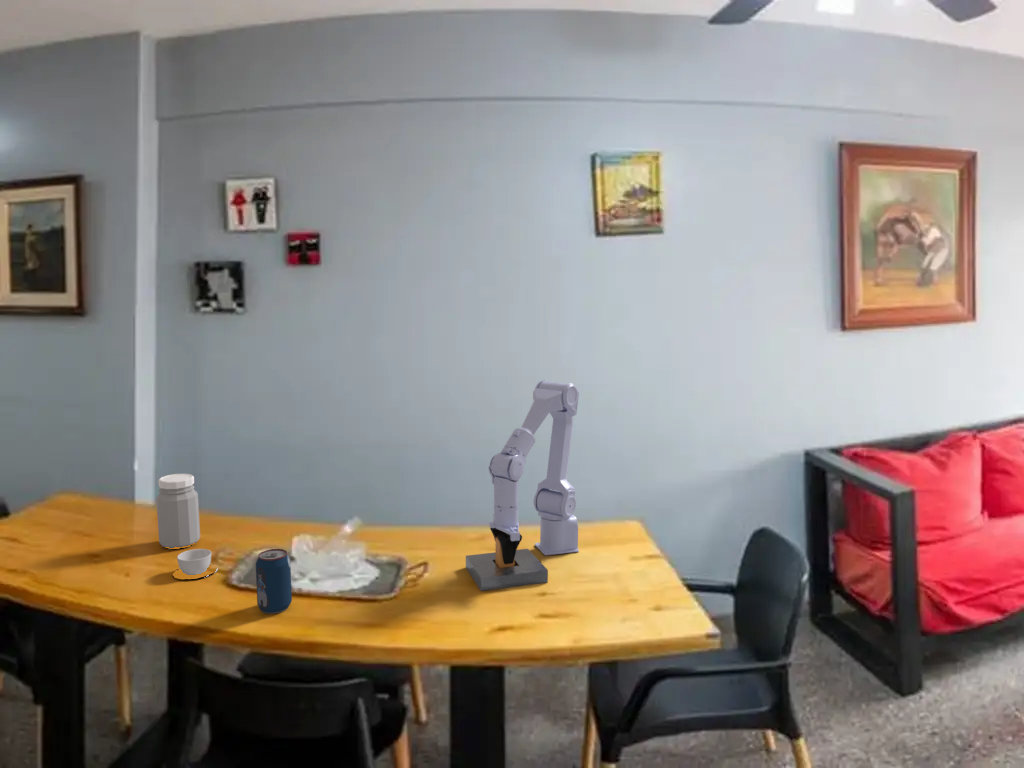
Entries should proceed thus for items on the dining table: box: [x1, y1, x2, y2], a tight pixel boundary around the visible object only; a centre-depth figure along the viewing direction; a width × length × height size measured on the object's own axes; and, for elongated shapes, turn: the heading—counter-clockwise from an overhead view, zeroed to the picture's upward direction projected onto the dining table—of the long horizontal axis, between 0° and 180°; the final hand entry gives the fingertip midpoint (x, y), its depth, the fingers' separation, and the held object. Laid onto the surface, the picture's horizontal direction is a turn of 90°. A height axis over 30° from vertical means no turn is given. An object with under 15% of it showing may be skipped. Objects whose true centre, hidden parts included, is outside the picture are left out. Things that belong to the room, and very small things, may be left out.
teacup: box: [176, 548, 219, 578], centre depth 167 cm, size 10×10×5 cm
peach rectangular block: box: [495, 537, 515, 568], centre depth 167 cm, size 4×4×7 cm
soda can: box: [255, 548, 293, 615], centre depth 149 cm, size 7×7×12 cm
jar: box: [156, 473, 201, 548], centre depth 184 cm, size 10×10×18 cm
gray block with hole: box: [465, 548, 549, 592], centre depth 167 cm, size 16×14×3 cm
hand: (505, 559), depth 167 cm, fingers closed on peach rectangular block, 4 cm apart
